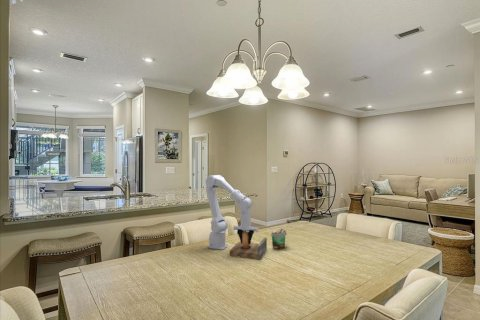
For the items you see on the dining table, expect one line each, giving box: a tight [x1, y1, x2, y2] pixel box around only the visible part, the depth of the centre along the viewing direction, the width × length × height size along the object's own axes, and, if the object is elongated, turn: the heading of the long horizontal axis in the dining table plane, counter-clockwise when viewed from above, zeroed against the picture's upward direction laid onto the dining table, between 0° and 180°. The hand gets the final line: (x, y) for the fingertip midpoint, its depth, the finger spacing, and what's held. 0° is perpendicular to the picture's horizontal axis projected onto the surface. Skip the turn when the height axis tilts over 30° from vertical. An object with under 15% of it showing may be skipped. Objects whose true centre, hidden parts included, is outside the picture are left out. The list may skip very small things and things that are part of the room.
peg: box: [242, 231, 249, 249], centre depth 151 cm, size 4×4×9 cm
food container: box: [271, 228, 288, 250], centre depth 159 cm, size 12×6×10 cm, turn 143°
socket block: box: [229, 237, 268, 260], centre depth 151 cm, size 18×16×7 cm
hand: (245, 243), depth 152 cm, fingers closed on peg, 4 cm apart
